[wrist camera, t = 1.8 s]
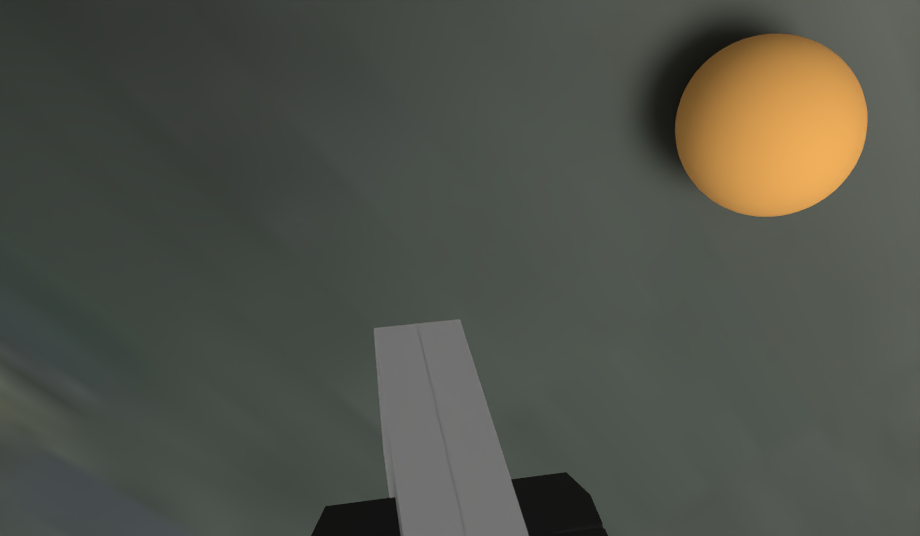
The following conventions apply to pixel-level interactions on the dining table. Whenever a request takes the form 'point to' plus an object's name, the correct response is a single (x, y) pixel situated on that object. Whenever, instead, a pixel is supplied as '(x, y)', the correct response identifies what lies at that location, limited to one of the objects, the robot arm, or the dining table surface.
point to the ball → (771, 125)
